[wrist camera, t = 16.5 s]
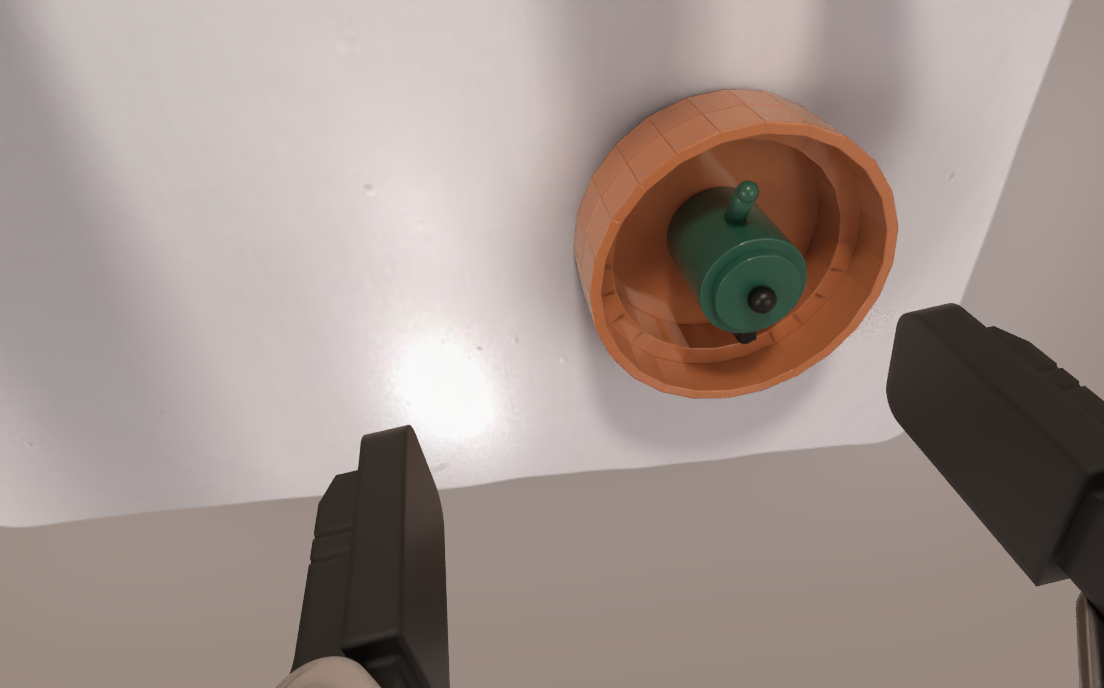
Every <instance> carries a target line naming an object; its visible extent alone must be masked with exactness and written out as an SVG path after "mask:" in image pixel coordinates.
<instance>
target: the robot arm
mask: <svg viewBox="0 0 1104 688" xmlns="http://www.w3.org/2000/svg"><path fill="white" fill-rule="evenodd" d="M886 393H887V399H888V403H889V406H890V409H891V411H892V413H893V415H894V417H895V419H896V420H897V422H898V423H899V424H900V425H901V427H902V428H903V429H904V430H905V431H906V433H907V434H908V435H909V436H910V437H911V439H912V440H913V441H914V442H915V443H916V444H917V446H918V447H919V448H920V449H921V450H922V452H923V453H924V454H925V455H926V456H927V457H928V459H929V460H930V461H931V462H932V463H933V465H934V466H935V467H936V468H937V469H938V470H939V472H940V473H941V474H942V475H943V476H944V478H945V479H946V480H947V481H948V482H949V484H950V485H951V486H952V487H953V488H954V489H955V490H956V492H957V493H958V494H959V495H960V497H961V498H962V499H963V500H964V501H965V502H966V504H967V505H968V506H969V507H970V508H971V510H972V511H973V512H974V513H975V514H976V515H977V517H978V518H979V519H980V520H981V521H982V523H983V524H984V525H985V526H986V527H987V529H988V530H989V531H990V532H991V533H992V534H993V536H994V537H995V538H996V539H997V540H998V542H999V543H1000V544H1001V545H1002V546H1003V548H1004V549H1005V550H1006V551H1007V552H1008V553H1009V555H1010V556H1011V557H1012V558H1013V559H1014V561H1015V562H1016V563H1017V564H1018V565H1019V566H1020V568H1021V569H1022V570H1023V571H1024V572H1025V574H1026V575H1027V576H1028V577H1029V578H1030V579H1031V581H1032V582H1033V583H1034V584H1035V585H1036V586H1040V585H1044V584H1048V583H1052V582H1056V581H1061V580H1064V579H1069V578H1070V579H1071V580H1072V581H1073V582H1074V584H1075V585H1076V586H1077V587H1078V588H1079V589H1080V590H1081V592H1080V594H1079V596H1078V599H1077V601H1076V621H1077V622H1076V624H1077V646H1078V667H1079V688H1104V401H1103V400H1102V399H1101V398H1099V397H1098V396H1097V395H1096V394H1094V393H1093V392H1092V391H1091V390H1089V389H1088V388H1087V387H1086V386H1082V387H1081V386H1080V385H1079V381H1078V380H1077V379H1076V378H1074V377H1073V376H1072V375H1070V374H1069V373H1068V372H1067V371H1065V370H1064V369H1063V368H1058V367H1057V364H1056V363H1055V362H1054V361H1053V360H1052V359H1050V358H1049V357H1048V356H1046V355H1045V354H1044V353H1043V352H1041V351H1040V350H1039V349H1038V348H1037V347H1035V346H1034V345H1033V344H1032V343H1030V342H1029V341H1026V340H1024V339H1022V338H1020V337H1017V336H1015V335H1013V334H1010V333H1008V332H1006V331H1004V330H1001V329H999V328H997V327H995V326H992V327H988V328H986V327H985V326H984V325H983V324H982V323H980V322H979V321H978V320H977V319H976V318H974V317H973V316H972V315H971V314H970V313H968V312H967V311H966V310H965V309H964V308H962V307H961V306H959V305H957V304H954V303H948V304H944V305H940V306H935V307H931V308H926V309H922V310H918V311H913V312H909V313H905V314H903V315H902V316H901V317H900V318H899V320H898V323H897V327H896V333H895V338H894V344H893V350H892V356H891V361H890V367H889V373H888V379H887V385H886ZM314 535H315V539H314V540H313V542H312V549H311V556H310V560H311V564H310V565H309V568H308V574H307V581H306V588H305V593H304V600H303V606H302V612H301V619H300V625H299V631H298V638H297V644H296V651H295V657H294V661H293V666H292V669H291V672H290V674H289V675H288V676H287V677H286V678H285V679H284V680H283V681H282V682H281V683H280V684H279V685H278V686H277V687H276V688H450V681H449V653H448V624H447V595H446V567H445V540H444V539H445V538H444V520H443V513H442V507H441V502H440V498H439V494H438V491H437V488H436V485H435V482H434V480H433V477H432V475H431V472H430V470H429V467H428V465H427V462H426V459H425V457H424V454H423V452H422V449H421V447H420V444H419V442H418V439H417V436H416V434H415V432H414V430H413V428H412V426H410V425H406V426H402V427H397V428H393V429H389V430H384V431H380V432H375V433H371V434H367V435H364V436H363V437H362V440H361V446H360V456H359V466H358V470H357V471H352V472H348V473H344V474H339V475H336V476H335V478H334V479H333V481H332V483H331V484H330V486H329V488H328V489H327V491H326V493H325V494H324V496H323V497H322V499H321V501H320V502H319V504H318V511H317V517H316V523H315V531H314Z"/></svg>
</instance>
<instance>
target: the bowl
mask: <svg viewBox="0 0 1104 688" xmlns="http://www.w3.org/2000/svg"><path fill="white" fill-rule="evenodd" d="M746 180H750V181H753V182H755V183H756V184H757V186H758V188H759V195H758V198H757V199H756V201H755V203H756V204H757V205H758V206H759V207H760V208H761V209H762V210H763V211H764V213H765V214H766V215H767V216H768V217H769V218H770V219H771V220H772V221H773V223H774V224H775V225H776V226H777V227H778V228H779V229H780V230H781V231H782V232H783V234H784V235H785V236H786V237H787V238H788V239H789V240H790V241H791V242H792V244H793V245H794V246H795V247H796V248H797V249H798V250H799V251H800V253H801V254H802V256H803V258H804V260H805V263H806V267H807V281H806V286H805V289H804V291H803V294H802V296H801V298H800V299H799V301H798V302H797V304H796V305H795V307H794V308H793V309H792V310H791V311H790V312H789V313H788V314H787V315H786V316H785V317H783V318H782V319H781V320H779V321H778V322H776V323H775V324H773V325H771V326H769V327H767V328H764V329H762V330H758V331H757V339H756V340H754V341H752V342H751V343H749V344H741V343H739V342H738V341H737V340H736V338H735V336H734V335H733V333H732V332H727V331H724V330H721V329H719V328H717V327H716V326H714V325H713V324H711V323H710V322H709V321H708V320H707V318H706V317H705V316H704V314H703V312H702V310H701V309H700V307H699V305H698V303H697V301H696V300H695V298H694V296H693V294H692V293H691V291H690V289H689V287H688V286H687V284H686V282H685V280H684V279H683V277H682V275H681V273H680V272H679V270H678V268H677V266H676V265H675V263H674V261H673V259H672V257H671V255H670V254H669V251H668V247H667V231H668V227H669V224H670V222H671V219H672V218H673V216H674V214H675V213H676V211H677V210H678V208H679V207H680V206H681V205H682V204H683V203H684V202H685V201H687V200H688V199H689V198H690V197H692V196H693V195H695V194H697V193H699V192H701V191H703V190H706V189H710V188H715V187H731V188H735V189H736V187H737V186H738V184H740V183H741V182H743V181H746ZM897 233H898V222H897V216H896V210H895V204H894V198H893V193H892V190H891V188H890V186H889V184H888V183H887V181H886V179H885V177H884V175H883V174H882V172H881V170H880V168H879V166H878V165H877V163H876V162H875V160H874V159H873V158H872V157H870V156H869V155H868V154H867V153H866V152H864V151H863V150H862V149H861V148H860V147H858V146H857V145H856V144H855V143H854V142H853V141H851V140H850V139H849V138H848V137H846V136H845V135H843V134H842V133H840V132H839V131H838V130H836V129H835V128H833V127H832V126H830V125H829V124H827V123H826V122H825V121H823V120H822V119H820V118H819V117H817V116H816V115H814V114H813V113H812V112H810V111H809V110H807V109H806V108H804V107H803V106H801V105H800V104H798V103H795V102H793V101H790V100H787V99H785V98H782V97H779V96H777V95H774V94H771V93H769V92H765V91H750V90H733V89H728V90H726V89H725V90H720V91H716V92H711V93H706V94H702V95H697V96H693V97H688V98H685V99H683V100H681V101H679V102H677V103H675V104H673V105H671V106H669V107H667V108H665V109H663V110H661V111H659V112H657V113H655V114H653V115H651V116H649V117H648V118H646V119H645V120H644V121H643V122H642V123H640V124H639V125H638V126H637V127H636V128H635V129H633V130H632V131H631V132H630V133H629V134H627V135H626V136H625V137H624V138H623V139H622V140H620V141H619V142H618V143H617V144H616V145H615V146H614V147H613V149H612V150H611V151H610V153H609V154H608V156H607V157H606V158H605V160H604V161H603V162H602V164H601V165H600V166H599V168H598V169H597V171H596V172H595V173H594V175H593V176H592V178H591V180H590V183H589V185H588V188H587V190H586V193H585V195H584V198H583V200H582V203H581V205H580V208H579V210H578V213H577V222H576V231H575V239H574V252H575V257H576V263H577V269H578V274H579V279H580V282H581V285H582V288H583V291H584V294H585V298H586V301H587V304H588V307H589V310H590V313H591V316H592V319H593V322H594V326H595V329H596V330H597V332H598V334H599V336H600V338H601V340H602V342H603V344H604V345H605V347H606V349H607V351H608V353H609V355H610V356H611V357H612V358H613V359H614V360H615V361H616V362H617V363H618V364H619V365H620V366H621V367H622V368H623V369H624V370H626V371H627V372H628V373H629V374H630V375H631V376H632V377H633V378H635V379H637V380H639V381H641V382H643V383H645V384H647V385H649V386H651V387H653V388H655V389H657V390H659V391H662V392H665V393H670V394H675V395H679V396H684V397H689V398H727V397H728V398H730V397H735V396H739V395H744V394H748V393H753V392H757V391H762V390H765V389H767V388H769V387H772V386H774V385H776V384H779V383H781V382H783V381H786V380H788V379H791V378H793V377H795V376H797V375H799V374H801V373H802V372H804V371H805V370H807V369H808V368H810V367H811V366H813V365H814V364H816V363H817V362H819V361H820V360H822V359H823V358H825V357H827V356H828V355H829V354H831V353H832V352H833V351H834V350H835V349H836V348H837V347H838V346H839V345H840V344H841V343H842V342H843V341H844V340H845V339H846V338H847V337H848V336H849V335H850V334H851V333H853V332H854V331H855V330H856V329H857V327H858V326H859V325H860V323H861V322H862V320H863V319H864V317H865V316H866V315H867V313H868V312H869V310H870V309H871V307H872V306H873V305H874V303H875V302H876V300H877V299H878V297H879V296H880V293H881V291H882V288H883V286H884V284H885V281H886V279H887V276H888V274H889V272H890V269H891V267H892V264H893V261H894V254H895V247H896V240H897Z"/></svg>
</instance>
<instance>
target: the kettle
mask: <svg viewBox="0 0 1104 688" xmlns="http://www.w3.org/2000/svg"><path fill="white" fill-rule="evenodd" d="M758 195H759V188H758V186H757V184H756V183H755V182H753V181H750V180H746V181H743V182H741V183H740V184H738V186H737V187H736V189H735V188H731V187H715V188H710V189H706V190H703V191H701V192H699V193H697V194H695V195H693V196H692V197H690V198H689V199H688V200H687V201H685V202H684V203H683V204H682V205H681V206H680V207H679V208H678V210H677V211H676V213H675V214H674V216H673V218H672V219H671V222H670V224H669V227H668V231H667V247H668V251H669V254H670V255H671V257H672V259H673V261H674V263H675V265H676V266H677V268H678V270H679V272H680V273H681V275H682V277H683V279H684V280H685V282H686V284H687V286H688V287H689V289H690V291H691V293H692V294H693V296H694V298H695V300H696V301H697V303H698V305H699V307H700V309H701V310H702V312H703V314H704V316H705V317H706V318H707V320H708V321H709V322H710V323H711V324H713V325H714V326H716V327H717V328H719V329H721V330H724V331H727V332H732V333H733V335H734V336H735V338H736V340H737V341H738V342H739V343H741V344H749V343H751V342H752V341H754V340H756V339H757V331H758V330H762V329H764V328H767V327H769V326H771V325H773V324H775V323H776V322H778V321H779V320H781V319H782V318H783V317H785V316H786V315H787V314H788V313H789V312H790V311H791V310H792V309H793V308H794V307H795V305H796V304H797V302H798V301H799V299H800V298H801V296H802V294H803V291H804V289H805V286H806V281H807V267H806V263H805V260H804V258H803V256H802V254H801V253H800V251H799V250H798V249H797V248H796V247H795V246H794V245H793V244H792V242H791V241H790V240H789V239H788V238H787V237H786V236H785V235H784V234H783V232H782V231H781V230H780V229H779V228H778V227H777V226H776V225H775V224H774V223H773V221H772V220H771V219H770V218H769V217H768V216H767V215H766V214H765V213H764V211H763V210H762V209H761V208H760V207H759V206H758V205H757V204H756V203H755V201H756V199H757V198H758Z"/></svg>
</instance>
